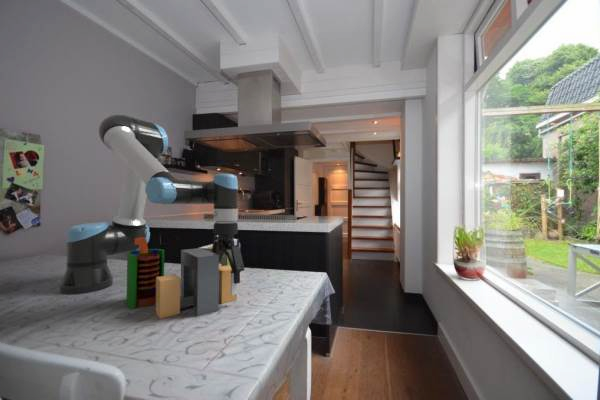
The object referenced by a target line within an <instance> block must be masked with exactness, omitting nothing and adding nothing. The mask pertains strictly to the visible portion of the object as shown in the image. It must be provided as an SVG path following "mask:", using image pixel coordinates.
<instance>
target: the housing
mask: <svg viewBox="0 0 600 400" xmlns="http://www.w3.org/2000/svg"><path fill="white" fill-rule="evenodd" d="M190 296H194V305H193V314H194V315H195V316H196V317H200V316H201V317H202V316H204V315H208V314H212V313H215V312H219V309H220V308H219V306H220V304H219V303H220V302H219V255H218V254H216V253H213V252H210V251H207V250H204V249H201V248H200V247H197V248H188V249H181V250H180V299H181V298H185V297H190Z"/></svg>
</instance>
